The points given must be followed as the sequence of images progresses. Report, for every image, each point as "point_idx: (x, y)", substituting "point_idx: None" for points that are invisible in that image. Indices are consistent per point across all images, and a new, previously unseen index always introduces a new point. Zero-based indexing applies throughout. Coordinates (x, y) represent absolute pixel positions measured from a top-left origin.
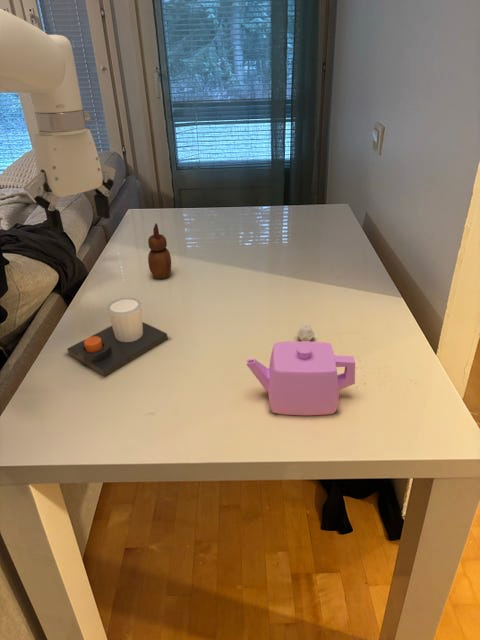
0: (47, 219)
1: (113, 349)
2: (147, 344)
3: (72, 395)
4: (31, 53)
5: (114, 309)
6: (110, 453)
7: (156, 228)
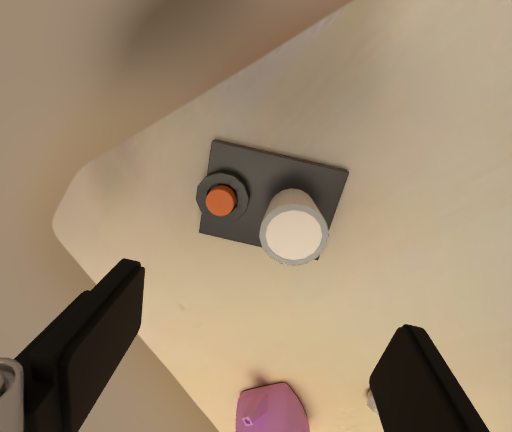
0: (58, 319)
1: (245, 213)
2: None
3: (153, 215)
4: None
5: (273, 227)
6: None
7: None
